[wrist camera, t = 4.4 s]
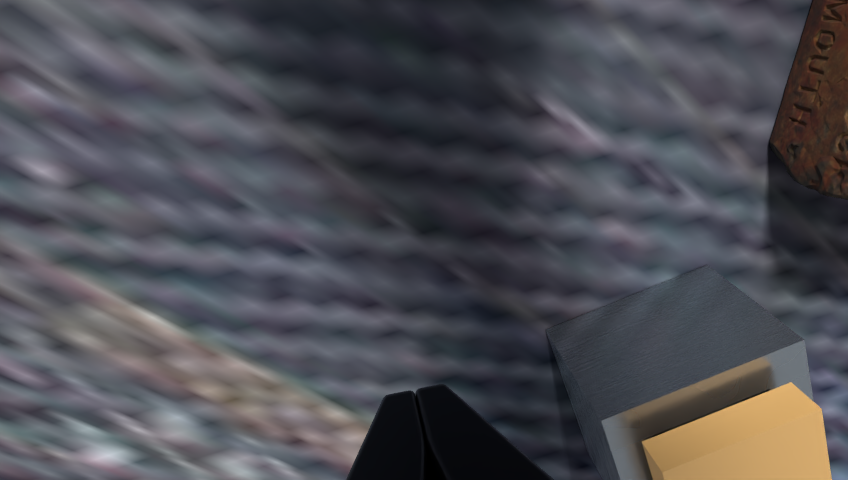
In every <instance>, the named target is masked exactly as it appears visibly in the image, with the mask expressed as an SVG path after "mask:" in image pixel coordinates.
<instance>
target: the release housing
mask: <svg viewBox="0 0 848 480" xmlns="http://www.w3.org/2000/svg"><path fill="white" fill-rule="evenodd" d="M546 332H547V335H548V338H549V341H550V344H551V347H552V350H553V353H554V355H555V358H556V361H557V364H558V367H559V370H560V373H561V376H562V379H563V381H564V384H565V387H566V390H567V393H568V396H569V399H570V402H571V404H572V407H573V410H574V413H575V416H576V419H577V422H578V425H579V427H580V430H581V433H582V436H583V439H584V442H585V445H586V448H587V450H588V453H589V456H590V457H591V459H592V461H593V463H594V465H595V467H596V468H597V470H598V472H599V474H600V476H601V478H602V479H603V480H653V478H652V475H651V471H650V468H649V465H648V461H647V458H646V455H645V451H644V448H643V445H642V441H645V440H647V439H650V438H651V436H653V435H655V434H658V433H660V432H663V431H666V430H668V429H671V428H673V427H676V426H678V425H681V424H683V423H686V422H688V421H691V420H693V419H696V418H698V417H701V416H703V415H706V414H708V413H711V412H713V411H716V410H718V409H721V408H723V407H726V406H728V405H731V404H733V403H736V402H738V401H742V402H743V401H745V400H748V399H750V398H753V397H755V396H758V395H760V394H763V393H765V392H768V391H770V390H773V389H775V388H778V387H780V386H783V385H785V384H788V383H790V382H792V383H793V384H794V385H795V386H796V387H797V388H799V389H800V390H801V391H802V392H803V393H804V394H805V395H806V396H808V397H809V398H810V399H811V400H812V401H813V395H812V388H811V381H810V374H809V368H808V361H807V354H806V348H805V341H804V339H803V338H801V337H800V336H799V335H797V334H796V333H795V332H794V331H792V330H791V329H790V328H788V327H787V326H786V325H785V324H783V323H782V322H781V321H779V320H778V319H777V318H775V317H774V316H773V315H772V314H770V313H769V312H768V311H766V310H765V309H764V308H763V307H761V306H760V305H759V304H757V303H756V302H755V301H754V300H752V299H751V298H750V297H748V296H747V295H746V294H744V293H743V292H742V291H741V290H739V289H738V288H737V287H735V286H734V285H733V284H732V283H730V282H729V281H728V280H726V279H725V278H724V277H723V276H721V275H720V274H719V273H717V272H716V271H715V270H714V269H712V268H711V267H710V266H708V265H706V266H704V267H701V268H699V269H696V270H694V271H691V272H689V273H686V274H684V275H681V276H679V277H676V278H674V279H671V280H669V281H666V282H664V283H661V284H659V285H656V286H654V287H651V288H649V289H646V290H644V291H641V292H639V293H636V294H634V295H631V296H629V297H626V298H624V299H621V300H619V301H616V302H614V303H612V304H609V305H607V306H604V307H602V308H599V309H597V310H594V311H592V312H589V313H587V314H584V315H582V316H579V317H577V318H574V319H572V320H569V321H567V322H564V323H562V324H559V325H557V326H554V327H552V328H549V329H547V330H546ZM813 402H814V401H813Z"/></svg>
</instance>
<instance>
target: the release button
mask: <svg viewBox="0 0 848 480" xmlns="http://www.w3.org/2000/svg"><path fill="white" fill-rule="evenodd" d="M642 445H643V448H644V451H645V455H646V458H647V461H648V465H649V468H650V471H651V475H652V478H653V480H832V478H831V471H830V464H829V457H828V450H827V443H826V436H825V429H824V423H823V416H822V409H821V408H820V407H819V406H818V405H817V404H815V403H814V402H813V401H812V400H811V399H810V398H809V397H808V396H806V395H805V394H804V393H803V392H802V391H801V390H800V389H799V388H797V387H796V386H795V385H794V384H793V383H792V382H790V383H788V384H785V385H783V386H780V387H778V388H775V389H773V390H770V391H768V392H765V393H763V394H760V395H758V396H755V397H753V398H750V399H748V400H745V401H743V402H742V401H738V402H736V403H733V404H731V405H728V406H726V407H723V408H721V409H718V410H716V411H713V412H711V413H708V414H706V415H703V416H701V417H698V418H696V419H693V420H691V421H688V422H686V423H683V424H681V425H678V426H676V427H673V428H671V429H668V430H666V431H663V432H660V433H658V434H655V435H653V436H651V438H650V439H647V440H645V441H642Z"/></svg>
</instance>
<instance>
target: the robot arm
mask: <svg viewBox="0 0 848 480" xmlns="http://www.w3.org/2000/svg"><path fill="white" fill-rule="evenodd" d="M346 480H554V479H553V478H551V477H550V476H549V475H548V474H547V473H546V472H545V471H543V470H542V469H541V468H540V467H539V466H538V465H537V464H535V463H534V462H533V461H532V460H531V459H530V458H528V457H527V456H526V455H525V454H524V453H523V452H522V451H520V450H519V449H518V448H517V447H516V446H515V445H514V444H512V443H511V442H510V441H509V440H508V439H507V438H506V437H504V436H503V435H502V434H501V433H500V432H499V431H498V430H496V429H495V428H494V427H493V426H492V425H491V424H490V423H488V422H487V421H486V420H485V419H484V418H483V417H482V416H480V415H479V414H478V413H477V412H476V411H475V410H474V409H472V408H471V407H470V406H469V405H468V404H467V403H465V402H464V401H463V400H462V399H461V398H460V397H459V396H457V395H456V394H455V393H454V392H453V391H452V390H451V389H449V388H448V387H447V386H446V385H443V384H439V385H434V386H429V387H424V388H420V389H418V390H417V391H416V396H415V393H414V392H413V391H404V392H399V393H394V394H389V395H386V396H385V397H384V398H383V400H382V402H381V404H380V407H379V409H378V411H377V413H376V415H375V418H374V420H373V422H372V424H371V426H370V428H369V431H368V433H367V435H366V437H365V439H364V442H363V444H362V446H361V448H360V450H359V453H358V455H357V457H356V459H355V461H354V464H353V466H352V468H351V470H350V472H349V475H348V477H347V479H346Z"/></svg>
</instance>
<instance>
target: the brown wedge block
mask: <svg viewBox="0 0 848 480" xmlns="http://www.w3.org/2000/svg"><path fill="white" fill-rule="evenodd" d="M770 145H771V150H772V151H773V152H774V154H775V155H776V156H777V157H778V158H779V159H780V160H781V161H782V162H783V163H784V164H785V166H786V170H787V172H788V173H789V174H790V176H791V177H792V178H793V179H794V180H795V181H796V182H798V183H800V184H801V185H803V186H805V187H808V188H810V189H814V190H817V191H818V192H819V193H820V194H823V195H826V196H831V197H836V198H841V199H846V200H848V0H813V2H812V5H811V8H810V12H809V15H808V18H807V21H806V25H805V28H804V31H803V34H802V37H801V40H800V43H799V47H798V50H797V53H796V57H795V60H794V63H793V66H792V69H791V72H790V76H789V79H788V82H787V85H786V88H785V92H784V97H783V101H782V104H781V107H780V110H779V113H778V117H777V120H776V123H775V126H774V129H773V133H772V136H771V139H770Z"/></svg>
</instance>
